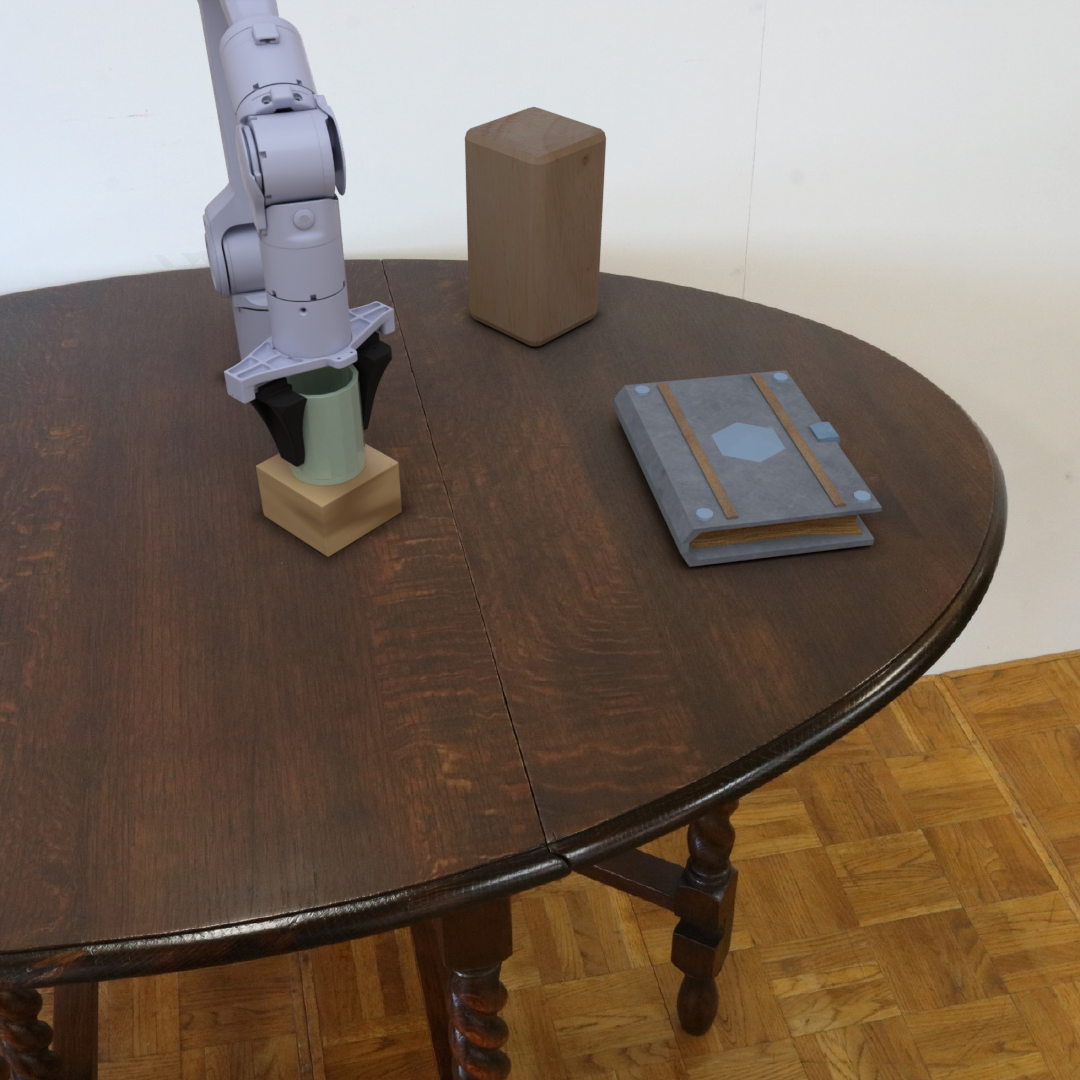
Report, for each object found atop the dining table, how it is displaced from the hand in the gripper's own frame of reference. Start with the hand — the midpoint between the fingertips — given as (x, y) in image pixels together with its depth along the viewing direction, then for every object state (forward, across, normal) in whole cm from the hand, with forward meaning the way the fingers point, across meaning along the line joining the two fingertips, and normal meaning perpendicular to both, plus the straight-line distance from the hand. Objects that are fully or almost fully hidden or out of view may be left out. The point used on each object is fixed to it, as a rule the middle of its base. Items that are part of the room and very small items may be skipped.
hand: (324, 442), depth 93 cm
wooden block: (+7, +36, +10) cm, 38 cm away
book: (+7, +26, -22) cm, 35 cm away
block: (+7, 0, 0) cm, 7 cm away
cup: (+2, 0, 0) cm, 2 cm away
